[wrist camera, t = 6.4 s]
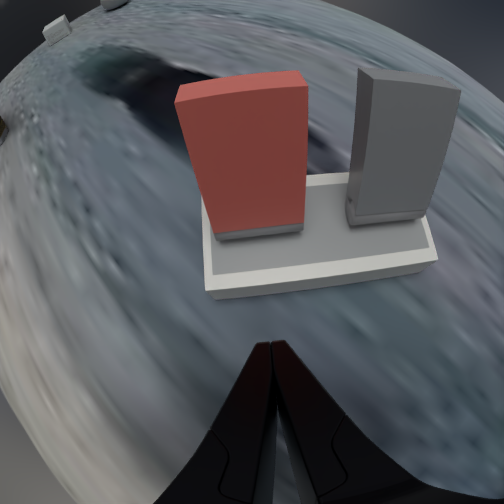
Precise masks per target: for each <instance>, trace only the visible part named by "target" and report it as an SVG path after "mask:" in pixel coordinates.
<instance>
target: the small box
mask: <svg viewBox="0 0 504 504" xmlns="http://www.w3.org/2000/svg"><path fill="white" fill-rule="evenodd" d="M69 34H71V26H70V24H69V22H68V20H67V18H66V17H65V15H63V16H61V17H60V18H58V19H56V20H55V21H53V22H52V23H50V24H49V25H47V26H45V28H44V30H43V35H44V36H45V38H46V40H47V42H48V44H49V46H52V45H53V44H55V43H56V42H58V41H59V40H61V39H62V38H64V37H66V36H67V35H69Z"/></svg>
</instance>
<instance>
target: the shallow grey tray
mask: <svg viewBox="0 0 504 504" xmlns="http://www.w3.org/2000/svg"><path fill="white" fill-rule="evenodd" d="M348 179H349V172H345V173H330V174H318V175H306V195H305V214H304V229H303V231H296V232H287V233H279V234H270V235H261V236H253V237H245V238H236V239H228V240H220V241H216V239H215V236H214V233H213V230H212V227H211V224H210V221H209V218H208V215H207V211H206V208H205V205H204V202H203V199H202V229H203V254H204V274H205V291H206V292H207V293H208V294H209V295H210V296H211V297H212V298H214V299H215V300H222V299H232V298H241V297H250V296H259V295H268V294H277V293H285V292H293V291H301V290H308V289H316V288H323V287H330V286H337V285H344V284H351V283H358V282H364V281H371V280H377V279H383V278H389V277H395V276H401V275H407V274H413V273H419V272H421V271H422V270H424V269H425V268H427V267H428V266H430V265H431V264H433V263H434V262H436V261H437V260H438V257H437V253H436V249H435V246H434V242H433V239H432V235H431V232H430V229H429V225H428V222H427V219H426V216H424V217H423V218H420V219H409V220H399V221H389V222H379V223H369V224H360V225H350V224H349V222H348V220H347V216H346V210H345V201H346V197H347V196H346V194H347V187H348Z"/></svg>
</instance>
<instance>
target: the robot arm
mask: <svg viewBox="0 0 504 504" xmlns="http://www.w3.org/2000/svg"><path fill="white" fill-rule="evenodd" d="M276 397H277V398H276ZM277 406H278V412H279V417H280V421H281V425H282V429H283V433H284V437H285V441H286V445H287V449H288V453H289V457H290V461H291V465H292V469H293V473H294V477H295V481H296V485H297V489H298V493H299V496H300V500H301V504H504V498H503V499H488V498H482V497H477V496H471V495H467V494H462V493H457V492H453V491H449V490H445V489H441V488H437V487H434V486H431V485H428V484H426V483H424V482H422V481H420V480H418V479H417V478H415V477H414V476H413V475H411V474H410V473H409V472H407V471H406V470H405V469H404V468H402V467H401V466H400V465H399V464H398V463H396V462H395V461H394V460H393V459H392V458H390V457H389V456H388V455H387V454H386V453H384V452H383V451H382V450H381V449H380V448H378V447H377V446H376V445H375V444H374V443H373V442H372V441H371V440H370V439H369V438H368V437H366V435H365V434H364V433H363V432H362V431H361V430H360V429H359V428H358V427H357V426H356V425H355V424H354V422H353V421H352V420H351V419H350V418H349V417H348V415H345V414H346V413H345V412H344V411H343V410H342V408H341V407H340V406H339V405H338V404H337V403H336V401H335V400H334V399H333V398H332V397H331V395H330V394H329V393H328V392H327V391H326V389H325V388H324V387H323V386H322V385H321V383H320V382H319V381H318V380H317V379H316V377H315V376H314V375H313V374H312V372H311V371H310V370H309V369H308V368H307V366H306V365H305V364H304V363H303V361H302V360H301V359H300V358H299V357H298V355H297V354H296V353H295V352H294V350H293V349H292V348H291V347H290V345H289V344H288V343H287V342H286V341H285V340H277V341H272V342H271V343H270V342H259V343H256V344H255V346H254V348H253V350H252V352H251V354H250V356H249V357H248V359H247V361H246V363H245V365H244V367H243V369H242V371H241V373H240V374H239V376H238V378H237V380H236V382H235V384H234V386H233V387H232V389H231V391H230V393H229V395H228V397H227V398H226V400H225V402H224V404H223V406H222V407H221V409H220V411H219V413H218V415H217V416H216V418H215V420H214V422H213V423H212V425H211V427H210V429H211V430H208V432H207V434H206V435H205V437H204V439H203V441H202V442H201V444H200V445H199V447H198V449H197V450H196V452H195V453H194V455H193V456H192V457H191V459H190V460H189V461H188V463H187V464H186V465H185V467H184V468H183V469H182V471H181V472H180V473H179V474H178V475H177V477H176V478H175V479H174V480H173V481H172V483H171V484H170V485H169V486H168V487H167V488H166V490H165V491H164V492H163V493H162V494H161V495H160V497H159V498H158V499H157V500H156V501H155V502H154V503H153V504H272V500H273V486H274V471H275V454H276V436H277Z"/></svg>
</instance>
